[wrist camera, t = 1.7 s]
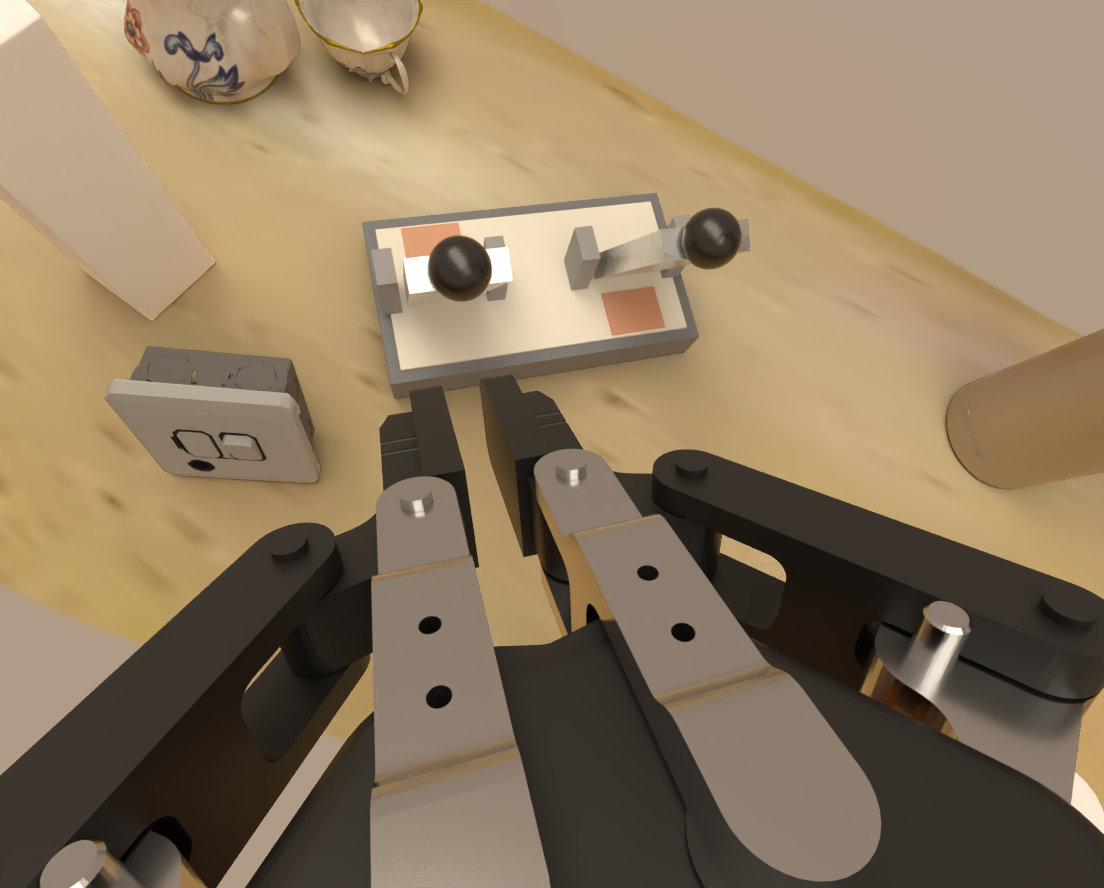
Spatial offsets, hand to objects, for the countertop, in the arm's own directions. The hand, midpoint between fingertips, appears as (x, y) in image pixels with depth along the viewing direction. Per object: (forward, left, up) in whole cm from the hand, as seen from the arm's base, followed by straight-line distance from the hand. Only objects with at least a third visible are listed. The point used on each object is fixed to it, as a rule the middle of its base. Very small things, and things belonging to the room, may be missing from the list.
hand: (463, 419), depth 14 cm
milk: (+19, -21, -28) cm, 40 cm away
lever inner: (-14, -17, -24) cm, 33 cm away
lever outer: (-1, -16, -24) cm, 29 cm away
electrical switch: (+13, -8, -28) cm, 32 cm away
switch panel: (-7, -17, -28) cm, 33 cm away
